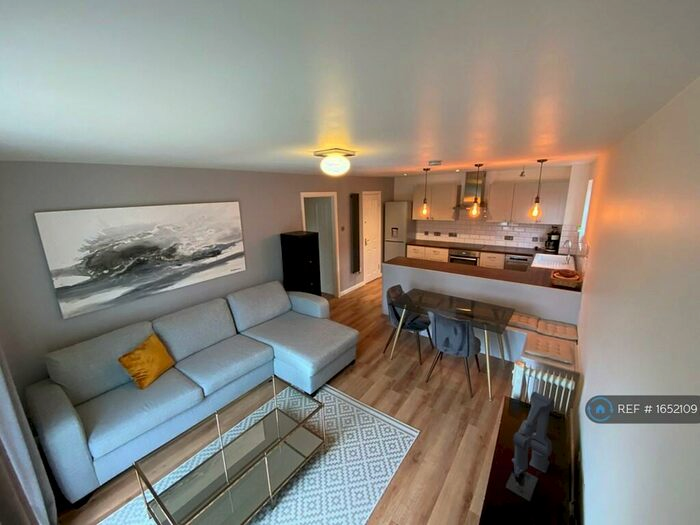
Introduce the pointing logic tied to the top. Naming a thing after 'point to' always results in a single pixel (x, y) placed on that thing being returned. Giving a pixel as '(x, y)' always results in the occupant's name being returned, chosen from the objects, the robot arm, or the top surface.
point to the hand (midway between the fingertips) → (520, 478)
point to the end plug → (522, 480)
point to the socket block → (524, 490)
